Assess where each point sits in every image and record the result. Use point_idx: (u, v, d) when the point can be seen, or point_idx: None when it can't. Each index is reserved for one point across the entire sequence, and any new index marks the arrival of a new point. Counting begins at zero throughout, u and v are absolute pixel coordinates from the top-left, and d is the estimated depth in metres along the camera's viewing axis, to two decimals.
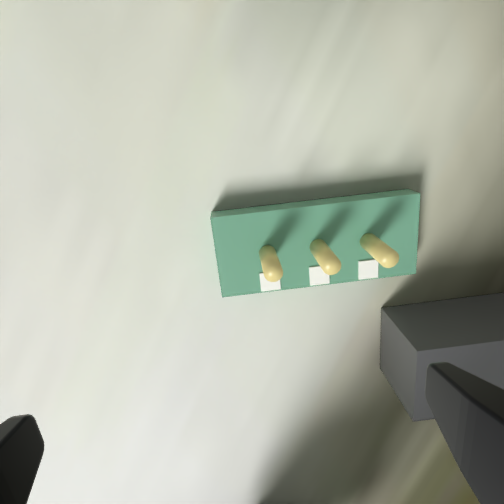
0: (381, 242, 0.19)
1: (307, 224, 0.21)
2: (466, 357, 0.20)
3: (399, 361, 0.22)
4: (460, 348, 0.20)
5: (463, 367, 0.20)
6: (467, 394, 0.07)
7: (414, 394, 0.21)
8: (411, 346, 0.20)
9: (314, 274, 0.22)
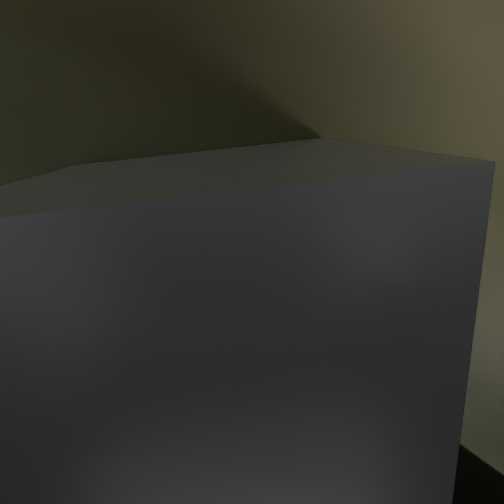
0: None
1: None
2: None
3: None
4: None
5: None
6: None
7: None
8: None
9: None
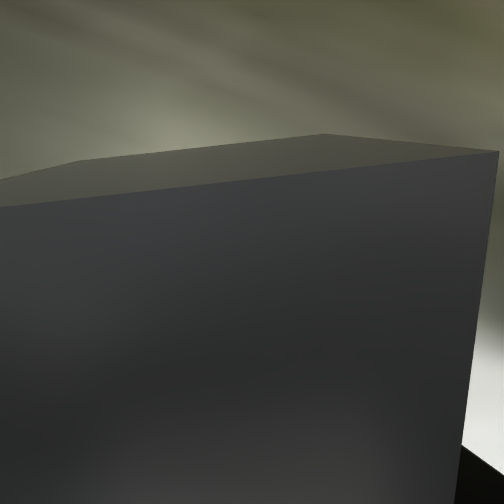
0: None
1: None
2: None
3: None
4: None
5: None
6: None
7: None
8: None
9: None
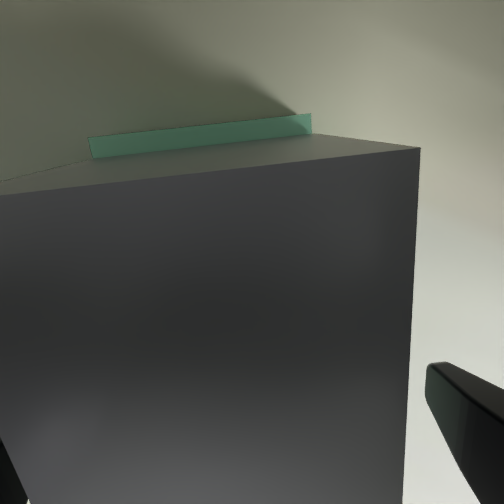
0: None
1: None
2: None
3: None
4: None
5: None
6: (467, 394, 0.07)
7: None
8: None
9: None
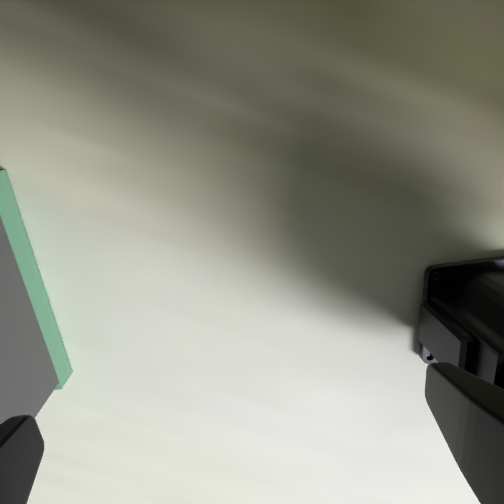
0: None
1: None
2: None
3: None
4: None
5: None
6: (467, 394, 0.07)
7: None
8: None
9: None
